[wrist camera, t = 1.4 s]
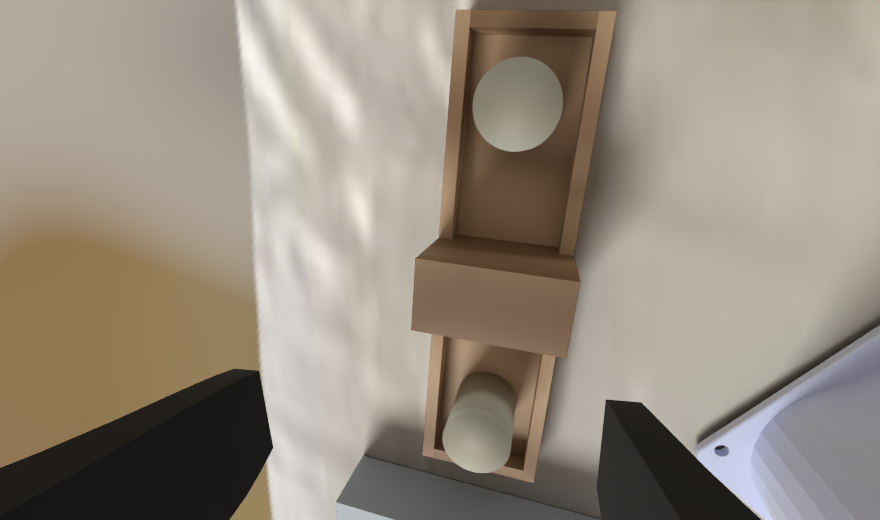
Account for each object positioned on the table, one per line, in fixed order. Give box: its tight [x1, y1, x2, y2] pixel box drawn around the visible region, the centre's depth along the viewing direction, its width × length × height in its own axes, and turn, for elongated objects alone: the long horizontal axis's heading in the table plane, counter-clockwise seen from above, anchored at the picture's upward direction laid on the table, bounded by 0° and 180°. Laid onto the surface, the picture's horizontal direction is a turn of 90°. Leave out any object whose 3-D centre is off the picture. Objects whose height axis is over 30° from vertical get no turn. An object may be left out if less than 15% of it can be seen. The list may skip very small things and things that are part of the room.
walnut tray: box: [411, 10, 617, 483], centre depth 15 cm, size 18×5×5 cm, turn 175°
